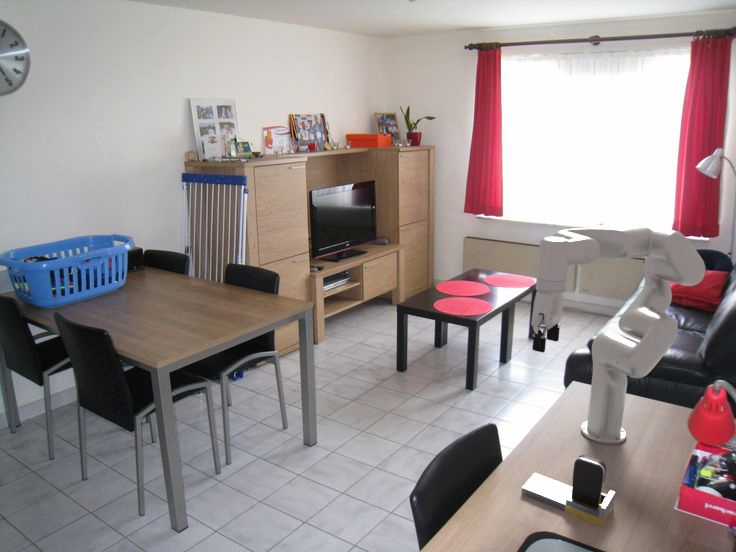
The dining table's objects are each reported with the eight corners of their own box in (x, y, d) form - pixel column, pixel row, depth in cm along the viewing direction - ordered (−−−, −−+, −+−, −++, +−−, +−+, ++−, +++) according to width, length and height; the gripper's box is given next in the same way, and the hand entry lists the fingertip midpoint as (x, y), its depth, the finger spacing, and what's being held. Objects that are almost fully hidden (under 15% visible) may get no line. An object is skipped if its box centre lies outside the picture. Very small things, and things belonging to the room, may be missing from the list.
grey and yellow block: (534, 479, 157) (535, 462, 156) (613, 509, 145) (615, 491, 144) (521, 494, 151) (523, 476, 149) (602, 527, 139) (605, 508, 138)
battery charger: (603, 502, 145) (608, 460, 142) (598, 510, 142) (604, 467, 139) (574, 491, 149) (579, 450, 146) (569, 498, 146) (574, 457, 143)
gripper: (549, 275, 165) (544, 333, 170) (524, 289, 152) (519, 352, 157) (576, 279, 161) (570, 339, 166) (552, 294, 148) (547, 359, 152)
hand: (545, 345), depth 161 cm, fingers open, 9 cm apart
